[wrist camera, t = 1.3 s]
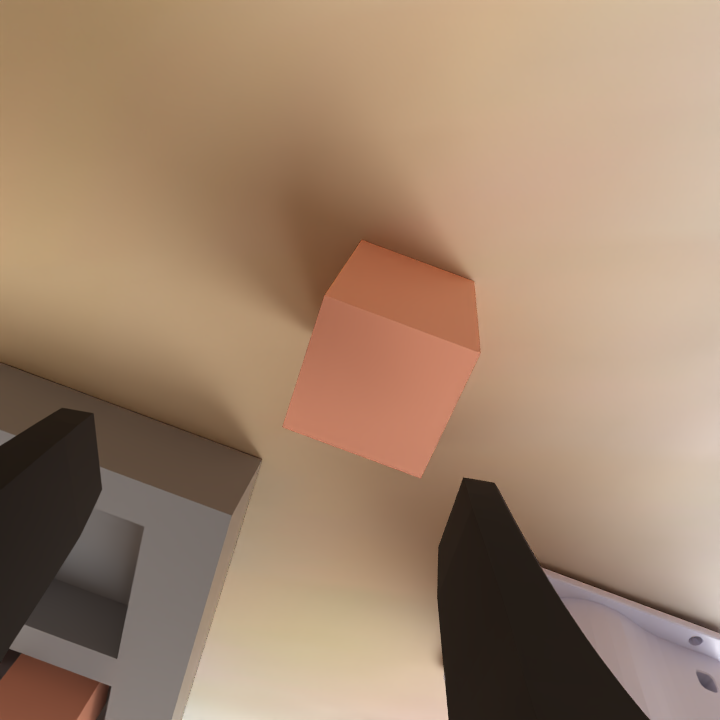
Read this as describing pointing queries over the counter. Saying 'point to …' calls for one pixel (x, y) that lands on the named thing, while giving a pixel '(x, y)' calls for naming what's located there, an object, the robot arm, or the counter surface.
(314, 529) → the counter surface
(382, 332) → the plug
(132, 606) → the dock
